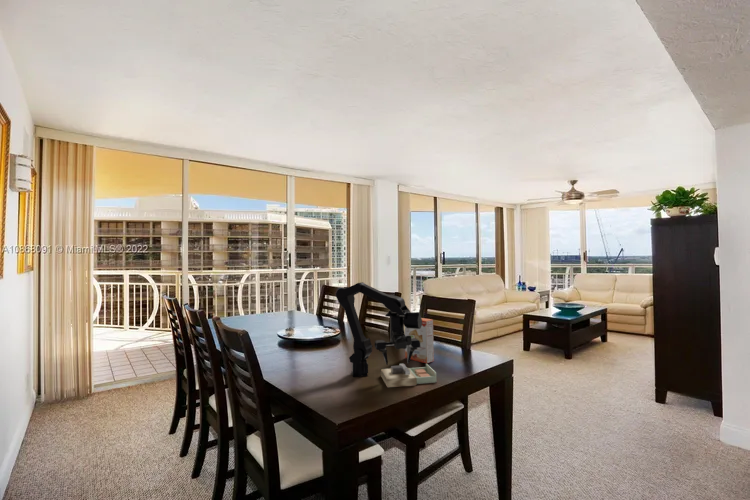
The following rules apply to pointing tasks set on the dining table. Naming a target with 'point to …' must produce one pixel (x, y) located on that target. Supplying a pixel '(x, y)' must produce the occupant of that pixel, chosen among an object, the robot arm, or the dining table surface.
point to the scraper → (400, 369)
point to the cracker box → (422, 341)
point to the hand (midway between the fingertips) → (397, 364)
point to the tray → (430, 379)
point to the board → (397, 378)
